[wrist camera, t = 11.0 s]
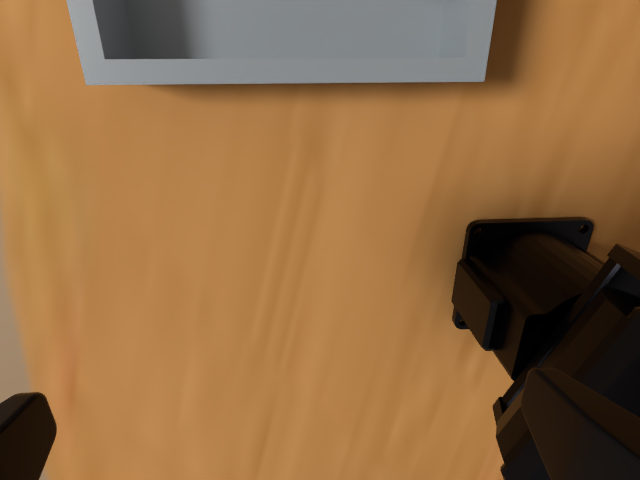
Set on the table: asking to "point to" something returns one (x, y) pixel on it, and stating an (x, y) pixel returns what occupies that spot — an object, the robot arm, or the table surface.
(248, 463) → the table surface
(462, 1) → the tray
